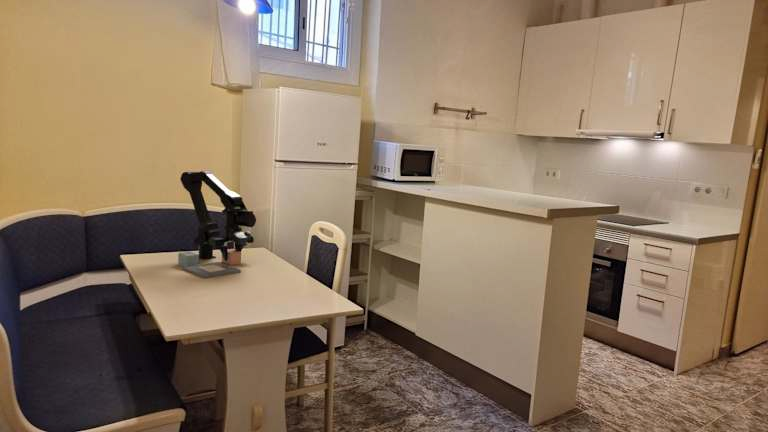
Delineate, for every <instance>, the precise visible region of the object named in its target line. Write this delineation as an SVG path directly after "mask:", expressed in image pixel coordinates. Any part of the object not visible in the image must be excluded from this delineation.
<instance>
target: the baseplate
mask: <svg viewBox="0 0 768 432" xmlns="http://www.w3.org/2000/svg"><path fill="white" fill-rule="evenodd" d="M182 270H184V271H185V272H188V273H190V274H193V275H195V276H197V277H201V278H203V279H208V278H214V277H220V276H226V275H231V274H232V275H233V274H238V273H239V274H240V273H241V271H242V270H241V269H240V268H237V267H234V266H232V265H230V264H227V263H224V262H220V261H216V262H209V263H203V264H198V265H194V266H186V267H183V266H182Z"/></svg>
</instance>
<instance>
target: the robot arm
mask: <svg viewBox="0 0 768 432" xmlns="http://www.w3.org/2000/svg"><path fill="white" fill-rule="evenodd" d="M180 182H181V184H182V186H183V188H184V189H185V190H186V191H187V192H188V193H189V196H190V199H191V203H192V205H193V208H194V211H195V214H196V217H197V220H198V223H199V225H198V228H197V233H198V235H197V236H196V237H195V238H194V239H193V241H194V242H193V243H194V245H197V246H198V255H199V259H200V260H210V259H216V256H215V255H214V247H217V248H218V249H219V251H220V253H221V256H222V255H223V258H224V260H225V261H227V250H228V249H229V247H230V246H229V245H228V244H232V243H234V250H237V251H240V252H241V253H242V250H243V248H244V247H246V246H247V245H248V244H253V243H254V240H255V238H254V236H253V235H251V232H250V231H242V227H246V228H253V227H255V225H256V223H257V217H256V215H255V214H254V211H253V210H248V209H247V207H246V205H245V203H244V200H243V197H242V196H241V195H239V194H238V193H237V192H235V191H232V190H230V189H228V187H226V186H225V185H224V183H222V182H221V181H220V180H219V179H218V178H217V177H215V175H213V173H212V172H211V171H209V170H202V171H184V172H182V173H181V176H180ZM203 183H204V184H205V185H206V186H208V187H209V189H211V191H213V192H214V193H215V194H216V195H217V196H218V197H219V200H220V203H221V204H222V205H223V207H224V209H223V210H222V211H221V213H222V214H225V223H224V224H225V225H224V226H223V229H225V230H224V231H225V233H224V235H223V238H221V237H220V235H221V233H220V232H221V230H220V228H219V224H218V223H217V222H214V221H212V219H211V215H210V214H209V210H208V207H207V205H206V201H205V198H204V195H203V192H202V186H203Z"/></svg>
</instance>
